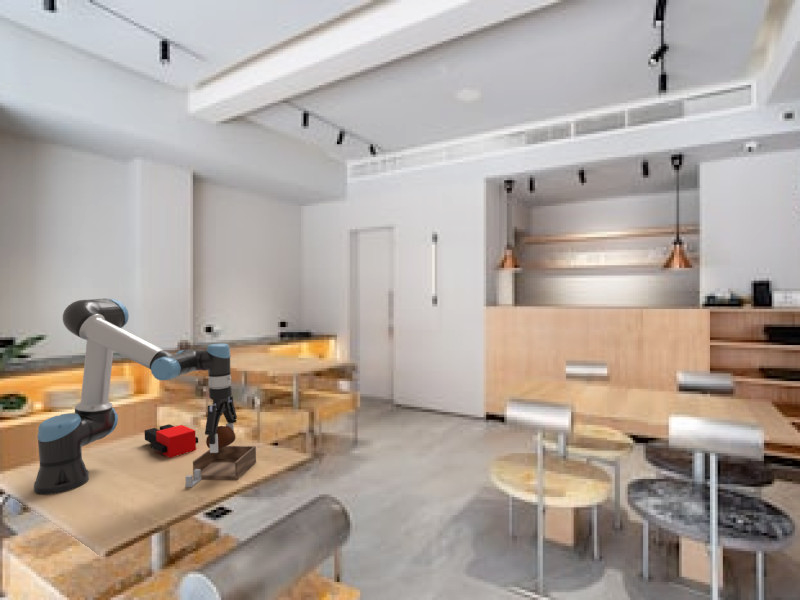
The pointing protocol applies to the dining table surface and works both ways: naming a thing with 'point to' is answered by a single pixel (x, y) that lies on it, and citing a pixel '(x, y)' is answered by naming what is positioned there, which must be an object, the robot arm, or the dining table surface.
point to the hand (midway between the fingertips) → (222, 446)
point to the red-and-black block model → (172, 439)
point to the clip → (190, 481)
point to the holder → (226, 462)
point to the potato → (223, 436)
